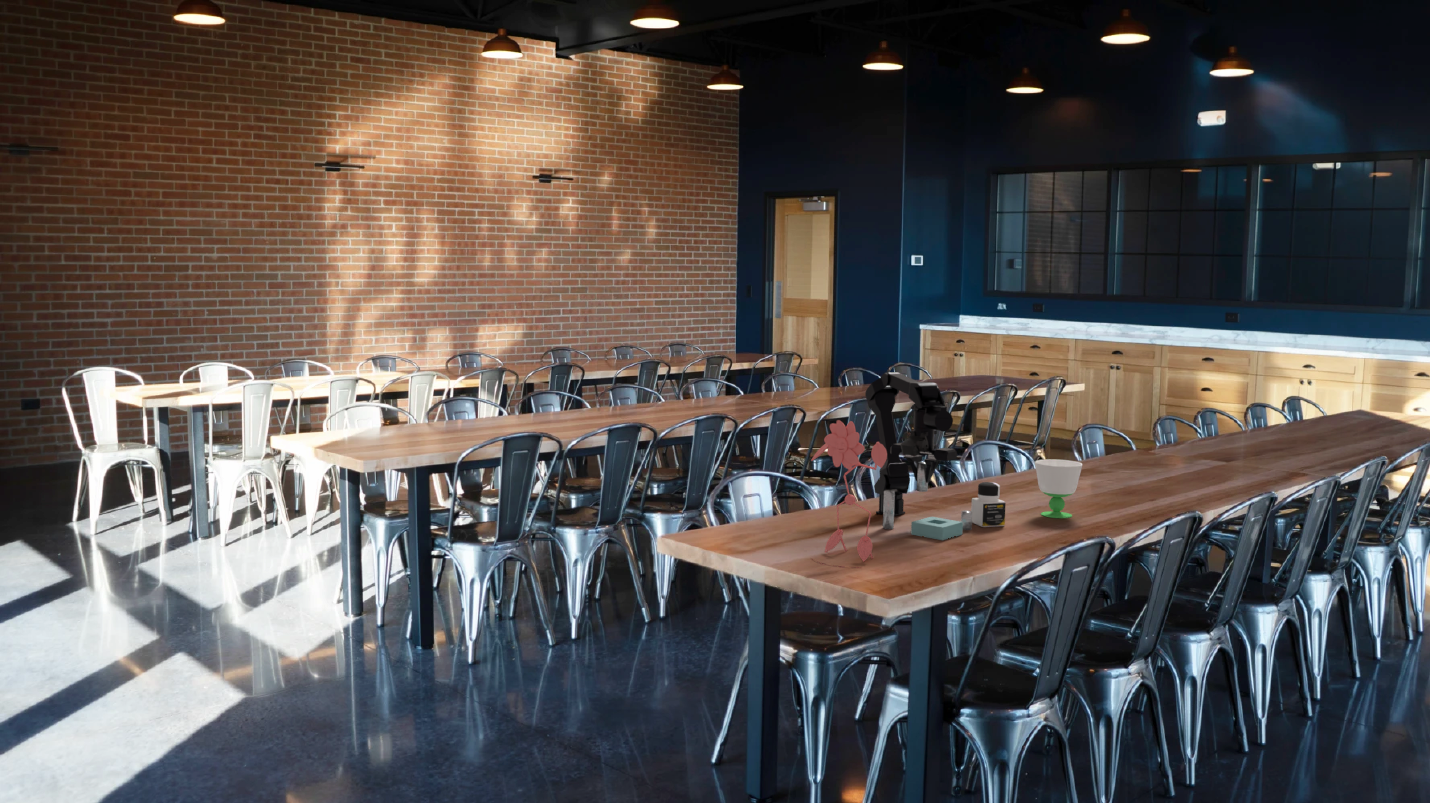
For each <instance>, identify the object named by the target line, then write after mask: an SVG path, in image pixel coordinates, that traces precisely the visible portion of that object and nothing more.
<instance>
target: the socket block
mask: <svg viewBox="0 0 1430 803" xmlns="http://www.w3.org/2000/svg"><path fill="white" fill-rule="evenodd" d="M910 526H911V528H910V530H911V531H910V532H911V533H910V534H911V535H912V536H913V535H914V536H918V537H922V536H924V538H928V539H934V540H939V541H945V540H948V538H949V539H952V538H955V537H954V536H956V537H958V536H962V535H963V531H964V530H963V522H961V520H960V521H959V520H954V519H953V520H952V519H948V518H942V517H937V516H928V517H925V518H922V519H917V520H913V521H911V525H910ZM951 537H952V538H951Z"/></svg>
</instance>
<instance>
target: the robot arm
mask: <svg viewBox="0 0 1430 803" xmlns="http://www.w3.org/2000/svg"><path fill="white" fill-rule="evenodd" d="M900 392H902V393H904V394H906V395H908V399H909V400H910V401H911V402H913V403H914V404H913V405H911V406H910V410H913V430H911V431H910V434H909V437H908V438H906V439H905V440H904V441H902V442H898V441H897V436H896V434H897V433H896V428H895V424H894V416H893V410H894V407H895V405H896V397H897V396H898V394H900ZM865 399H866V402H867V404H868V408H869V409H870V411H871V412H872V413H873V414H874V416H875V418H876V419H875V421H876V425H877V426H876V427H877V431H878V438H879V443H880V444H883V446H884V447H885V448H886V451H887V460H886V461H885V463H884V465H883V467H882V468H880V467H879V468H880V469H879V472H878V473H879V478H878V479H877V481H876V482H875V483H874V484H873V488H874V493H875V494H878V495H879V496H878V499H879V500H878V502H879V503H878V510H877V511H875V513H876V514H877V515H883V505H884V491H886V490H891V491H895V500H894V517H896V516H900V515H904V514H906V511H904V504H905V503H904V502H905V501H904V498H903V496H904V495H903V494H908V492H909V491H908V490H909V486H910V482H911V478H910V477H911V475H910V471H909V465H908V463H909V464H910V467H911V470H912V473H913V475H914V479H915V481H916V482H917V467H918V462H925V463H926V483H928V484H929V483H930V482H931V479H932V477H933V475H934V473H935V471H936V470H937V467H938V466H939V464H940V463H941V461H942V462H943V461H944V462H948V461H953V460H958V459H957V458H958V452H957V450H956V449H955V448H948V447H942V448H937V444H935V435H937V434H938V431H939V432H942V433H943V432H947V431H950V429H951V427H952V426H953V423H954V418H953V416H952V414H951V413H950V412H949V411H948V407H947V406H946V403H945V400H944V398H943V395H942V394H941V389H940V388H939V387H938V383H936V382H932V381H931V382H930V381H918V380H917V379H916V380H915V379H913V378H911V377H908V376H906V375H904V374H902V373H900V372H898V371H894V372H893V371H891V372H890V371H889V372H887V371H886V372H885V373H883V374H882V375H881V377H879V378H877V379H876V380H874V381H871V383H870V384H869V386H868V387H867V388H866V391H865ZM901 454H902V455H903V456H902V458H903V459H905V460H907V462H908V463H907V462H903V461H902V460H901V458H900V455H901ZM923 456H928V458H927V459H923Z"/></svg>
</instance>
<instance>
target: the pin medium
mask: <svg viewBox="0 0 1430 803" xmlns="http://www.w3.org/2000/svg"><path fill="white" fill-rule="evenodd" d="M928 488H929V483H926V463H925V461H922V462H918V467H917V481H916V491H917V492H923V493H925V492H928Z"/></svg>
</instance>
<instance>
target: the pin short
mask: <svg viewBox="0 0 1430 803" xmlns="http://www.w3.org/2000/svg"><path fill="white" fill-rule="evenodd" d="M960 513H961V514H960V515H961V516H960V522H963V531H972V529H973V523H972V511H971V510H961V511H960Z"/></svg>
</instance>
